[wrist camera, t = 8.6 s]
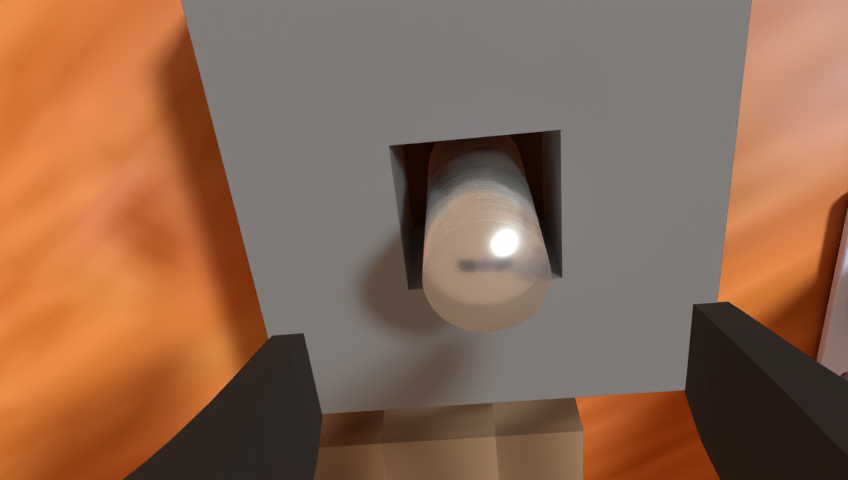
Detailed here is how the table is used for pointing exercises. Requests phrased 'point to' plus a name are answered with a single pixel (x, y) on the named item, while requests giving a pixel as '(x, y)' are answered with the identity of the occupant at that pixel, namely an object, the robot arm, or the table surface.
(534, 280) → the metal peg
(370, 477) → the socket block
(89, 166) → the table surface
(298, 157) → the grey square hole plate
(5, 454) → the table surface
